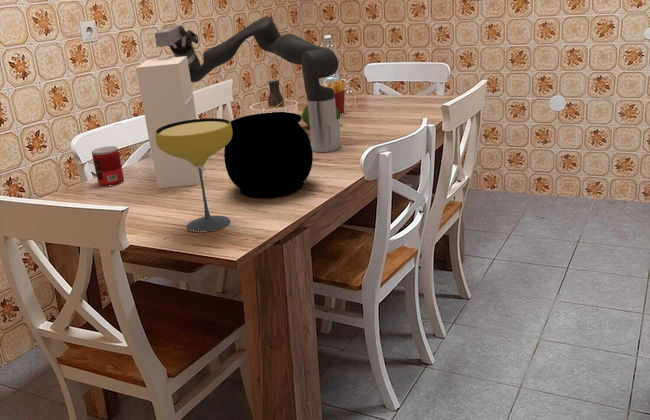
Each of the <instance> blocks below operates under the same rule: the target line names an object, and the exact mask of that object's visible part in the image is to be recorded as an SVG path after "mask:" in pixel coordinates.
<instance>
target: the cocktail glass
mask: <svg viewBox="0 0 650 420" xmlns="http://www.w3.org/2000/svg"><path fill="white" fill-rule="evenodd" d="M230 122H231V121H229V120H228V119H224V118H217V117H216V118H212V117H210V118H208V117H207V118H197V119H194V120H186V121H181V122H176V123H172V124H168V125H165V126H163V127H160V128H159V129H157V130H156V132H155V138H156V143H157V146H158V148H159V149H160V150H162V151H163V152H165V153H167V154H169V155H172V156H174V157H178V158H181V159H185V160H187V161H189V162H190V163H191V164H192V165H193V166H195V167H196V168H198V169H199V175H200V181H199V182H200V187H201V193H202V194H201V195H202V200H203V208H204V216H202V217H199V218H196V219H193V220H192V221H190V222H188V223H187V225H186V228H187V227H188V229H190V230H192V231H193V230H194V231H197V232H196V233H198V231H199V232H200V231H201V232H202V231H212V230H216V231H218V230H217V229H219V230H221V229H220V228H222V229H224V228H226V227H228V224H229V225H230V223H231V219H230V218H229V217H227V216H224V215H210V211H209V208H208V207H209V206H208V202H207V197H206V192H205V186H204V179H203V173H202V171H201V167H203V166H204V167H205V164H206V163H207V161H208V159H209V158H211V156H214V155H215V154H217V153H219V152H220V151H221V150H222V149H225V146H226V145H227V144H228V143H229V142H230V140H231V139H232V135H233V132H232V126H231V123H230ZM225 226H226V227H225ZM223 227H224V228H223ZM188 229H187V230H188ZM192 231H191V232H192ZM212 232H213V231H212Z"/></svg>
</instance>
